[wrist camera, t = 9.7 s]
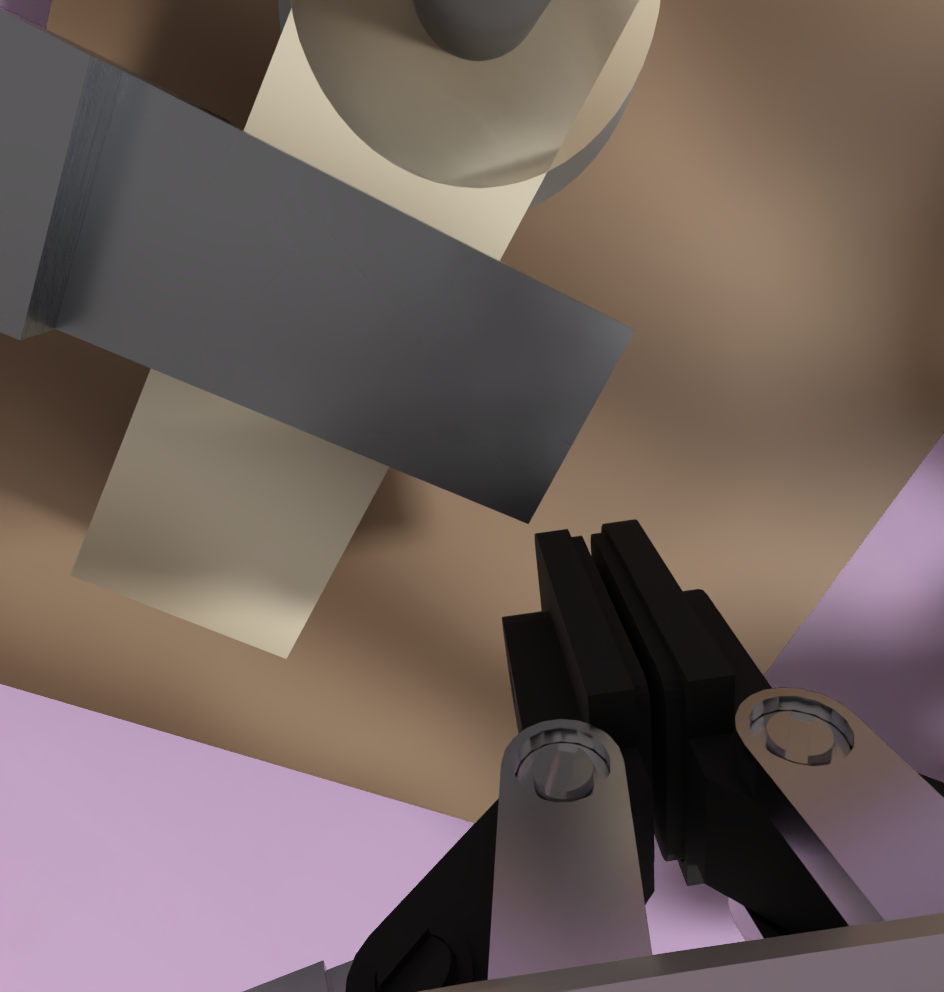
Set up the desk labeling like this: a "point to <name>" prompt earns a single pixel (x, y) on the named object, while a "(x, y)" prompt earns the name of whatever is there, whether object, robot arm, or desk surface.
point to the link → (400, 183)
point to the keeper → (280, 282)
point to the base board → (609, 426)
